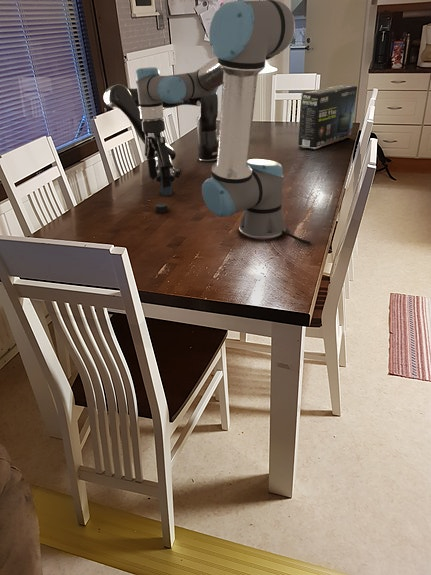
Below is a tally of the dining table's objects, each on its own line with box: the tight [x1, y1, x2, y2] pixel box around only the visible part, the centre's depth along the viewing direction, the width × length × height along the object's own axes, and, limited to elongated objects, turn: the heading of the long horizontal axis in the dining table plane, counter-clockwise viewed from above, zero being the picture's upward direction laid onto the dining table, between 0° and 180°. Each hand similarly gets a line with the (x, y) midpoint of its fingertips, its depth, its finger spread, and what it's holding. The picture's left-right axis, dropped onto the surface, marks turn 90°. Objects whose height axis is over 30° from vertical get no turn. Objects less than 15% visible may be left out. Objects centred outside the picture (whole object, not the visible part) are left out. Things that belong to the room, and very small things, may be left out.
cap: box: [155, 202, 168, 214], centre depth 168 cm, size 4×4×2 cm
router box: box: [297, 84, 358, 151], centre depth 238 cm, size 36×11×27 cm, turn 134°
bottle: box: [157, 157, 174, 197], centre depth 180 cm, size 5×5×21 cm
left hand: (165, 179), depth 179 cm, fingers closed on bottle, 4 cm apart
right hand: (159, 181), depth 163 cm, fingers open, 13 cm apart
